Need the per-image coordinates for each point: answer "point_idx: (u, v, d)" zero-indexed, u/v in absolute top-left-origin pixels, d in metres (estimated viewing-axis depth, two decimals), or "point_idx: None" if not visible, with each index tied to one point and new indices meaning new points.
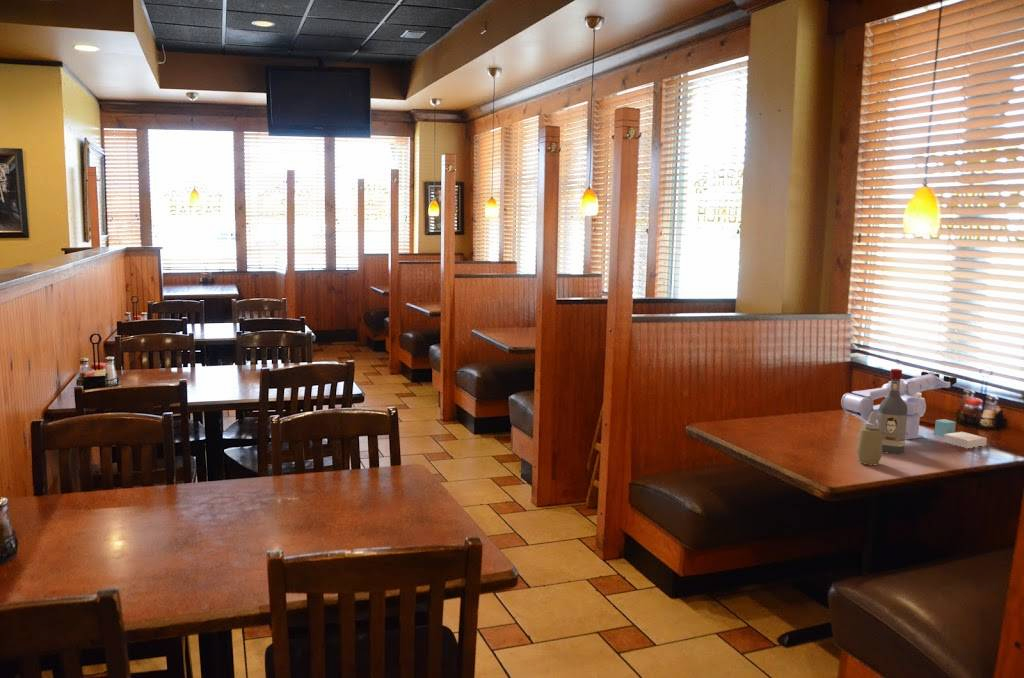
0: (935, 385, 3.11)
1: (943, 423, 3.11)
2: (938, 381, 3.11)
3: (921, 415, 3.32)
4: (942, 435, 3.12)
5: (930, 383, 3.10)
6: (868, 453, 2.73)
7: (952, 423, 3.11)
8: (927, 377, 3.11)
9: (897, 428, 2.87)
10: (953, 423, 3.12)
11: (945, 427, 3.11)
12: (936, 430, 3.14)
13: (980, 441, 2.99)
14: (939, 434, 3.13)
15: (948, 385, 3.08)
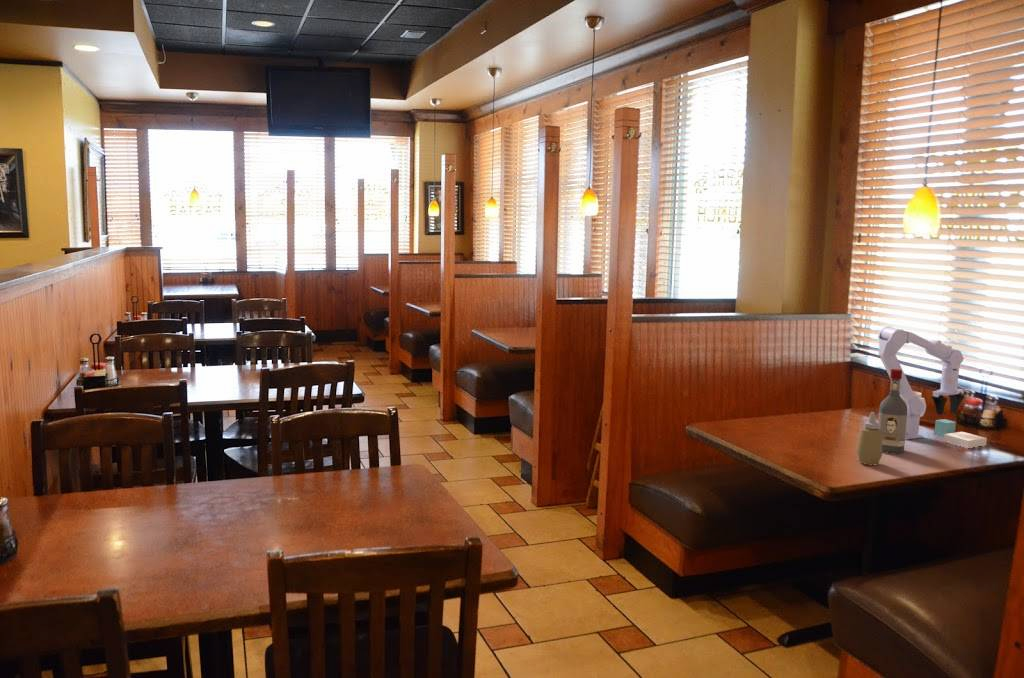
0: (941, 389, 3.11)
1: (943, 423, 3.11)
2: None
3: (921, 415, 3.32)
4: (942, 435, 3.12)
5: (945, 382, 3.09)
6: (868, 453, 2.73)
7: (952, 423, 3.11)
8: (952, 383, 3.08)
9: (897, 428, 2.87)
10: (953, 423, 3.12)
11: (945, 427, 3.11)
12: (936, 430, 3.14)
13: (980, 441, 2.99)
14: (939, 434, 3.13)
15: (934, 393, 3.09)
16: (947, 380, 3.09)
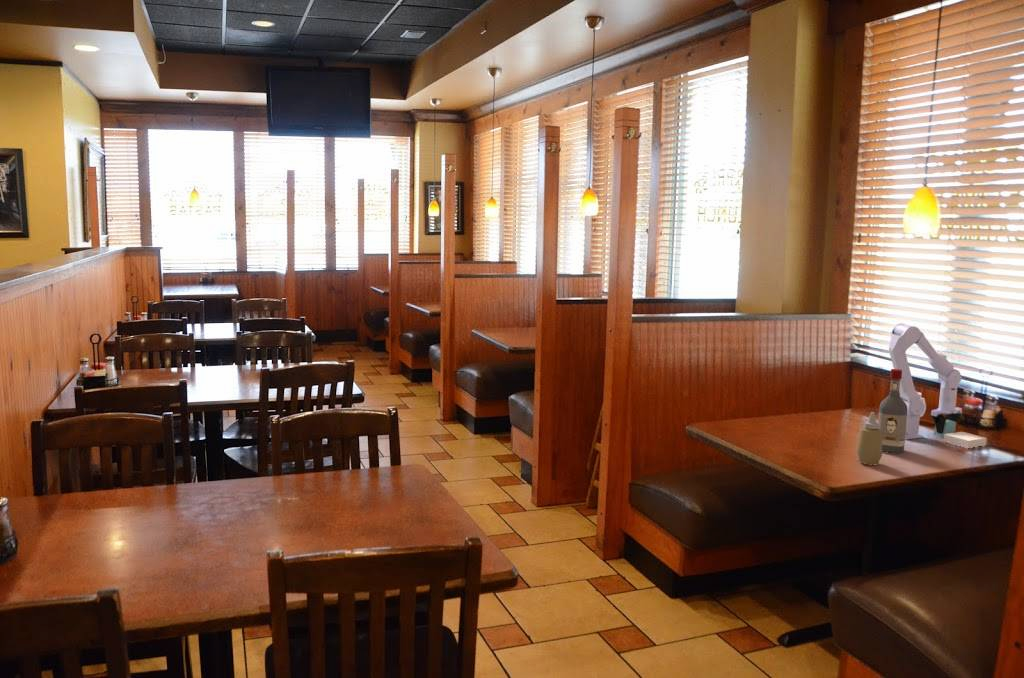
0: (940, 408, 3.12)
1: None
2: None
3: (921, 415, 3.32)
4: (942, 435, 3.12)
5: (943, 401, 3.11)
6: (868, 453, 2.73)
7: (952, 423, 3.11)
8: (950, 402, 3.09)
9: (897, 428, 2.87)
10: (953, 423, 3.12)
11: (945, 427, 3.11)
12: (936, 430, 3.14)
13: (980, 441, 2.99)
14: (939, 434, 3.13)
15: (933, 413, 3.10)
16: (945, 399, 3.10)
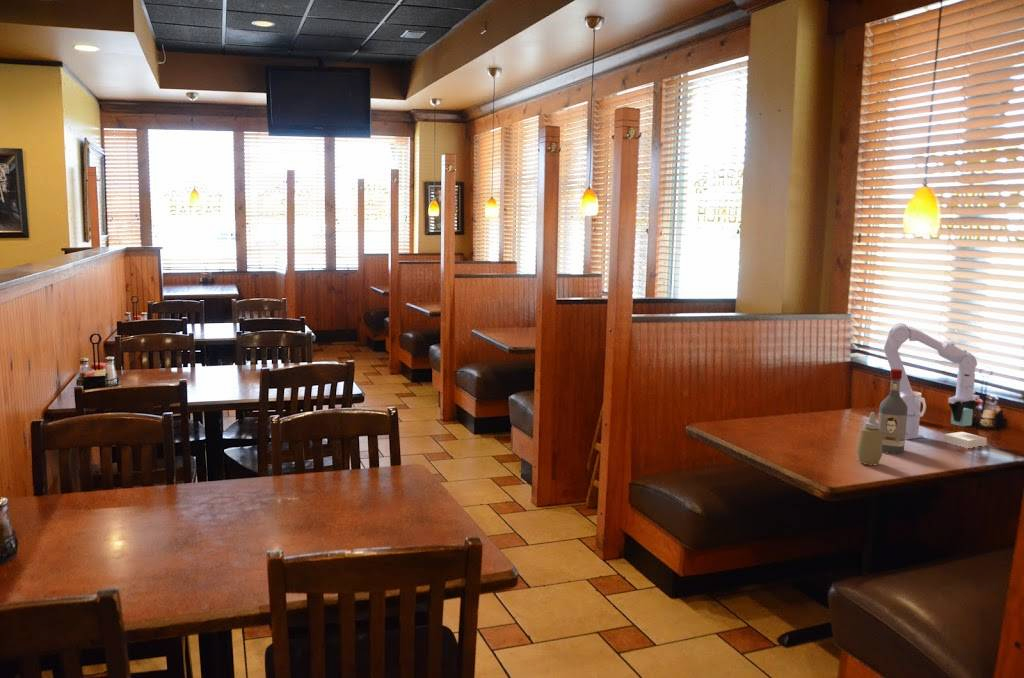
0: (957, 395, 3.03)
1: None
2: None
3: (921, 415, 3.32)
4: (959, 423, 3.03)
5: (960, 388, 3.01)
6: (868, 453, 2.73)
7: (969, 411, 3.02)
8: (968, 389, 3.00)
9: (897, 428, 2.87)
10: (970, 411, 3.02)
11: (962, 415, 3.01)
12: (952, 418, 3.05)
13: (980, 441, 2.99)
14: (956, 422, 3.04)
15: (950, 400, 3.00)
16: (963, 386, 3.00)
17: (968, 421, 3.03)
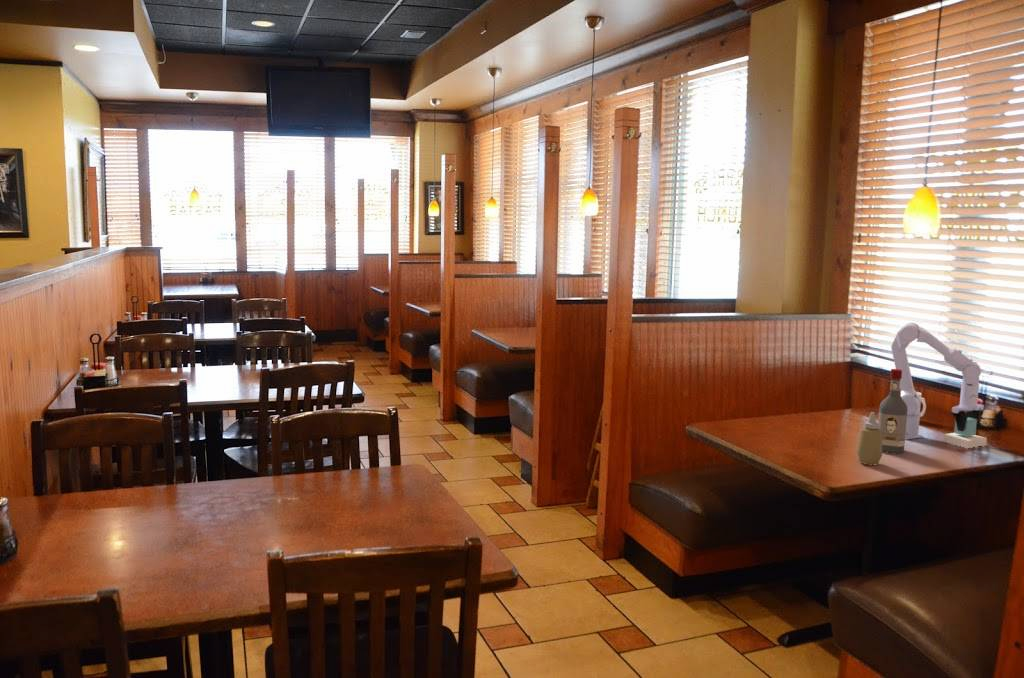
0: (961, 404, 3.00)
1: None
2: None
3: (921, 415, 3.32)
4: (963, 433, 3.01)
5: (964, 398, 2.99)
6: (868, 453, 2.73)
7: (973, 420, 3.00)
8: (972, 399, 2.98)
9: (897, 428, 2.87)
10: (974, 420, 3.00)
11: (965, 425, 2.99)
12: (956, 428, 3.03)
13: (980, 441, 2.99)
14: (959, 432, 3.02)
15: (953, 409, 2.98)
16: (967, 396, 2.98)
17: (972, 431, 3.00)
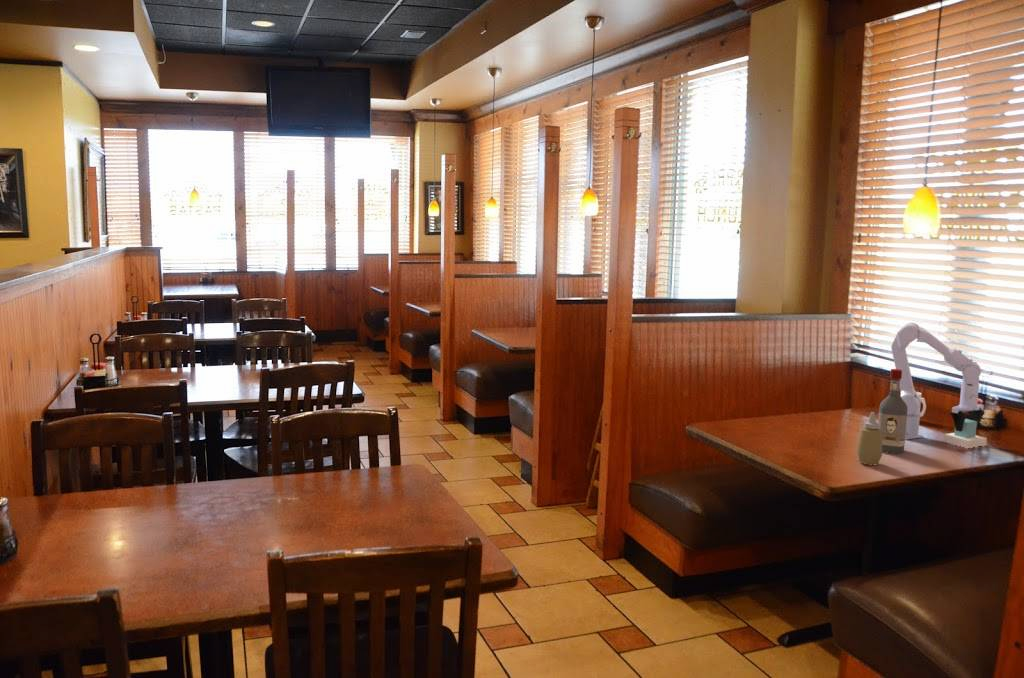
0: (961, 404, 3.00)
1: (964, 422, 3.00)
2: None
3: (921, 415, 3.32)
4: (963, 435, 3.01)
5: (964, 398, 2.99)
6: (868, 453, 2.73)
7: (973, 422, 3.00)
8: (972, 399, 2.98)
9: (897, 428, 2.87)
10: (974, 422, 3.00)
11: (966, 427, 2.99)
12: None
13: (980, 441, 2.99)
14: (959, 434, 3.02)
15: (953, 409, 2.98)
16: (967, 396, 2.98)
17: (972, 433, 3.00)
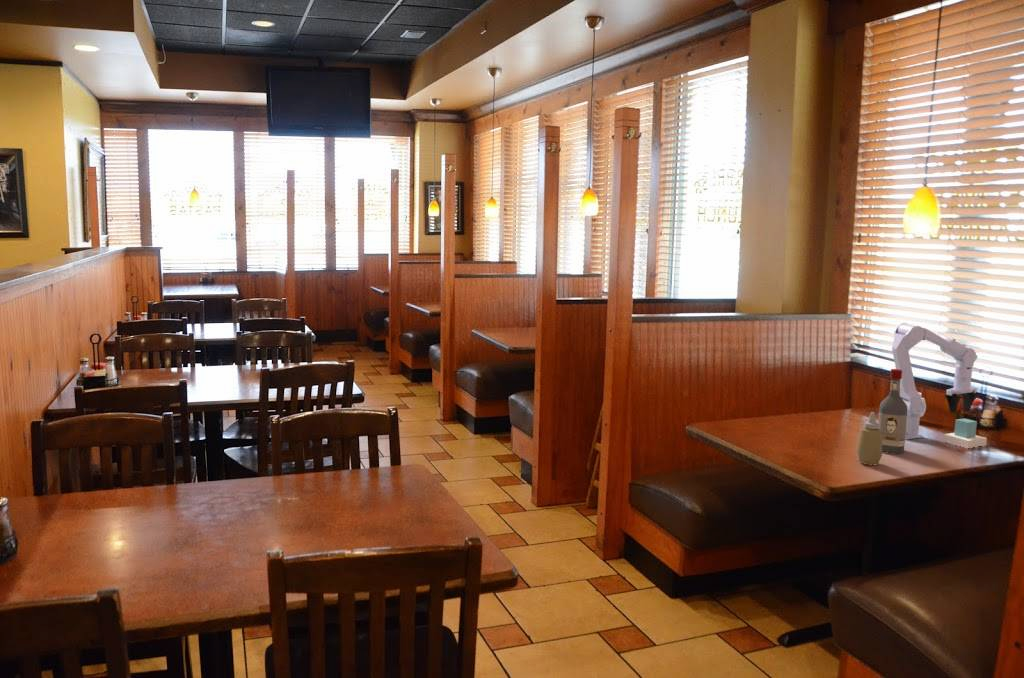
0: (955, 387, 3.12)
1: (964, 422, 3.00)
2: None
3: (921, 415, 3.32)
4: (963, 435, 3.01)
5: (958, 380, 3.11)
6: (868, 453, 2.73)
7: (973, 422, 3.00)
8: (965, 381, 3.10)
9: (897, 428, 2.87)
10: (974, 422, 3.00)
11: (966, 427, 2.99)
12: (956, 430, 3.03)
13: (980, 441, 2.99)
14: (959, 434, 3.02)
15: (948, 392, 3.10)
16: (960, 378, 3.10)
17: (972, 433, 3.00)
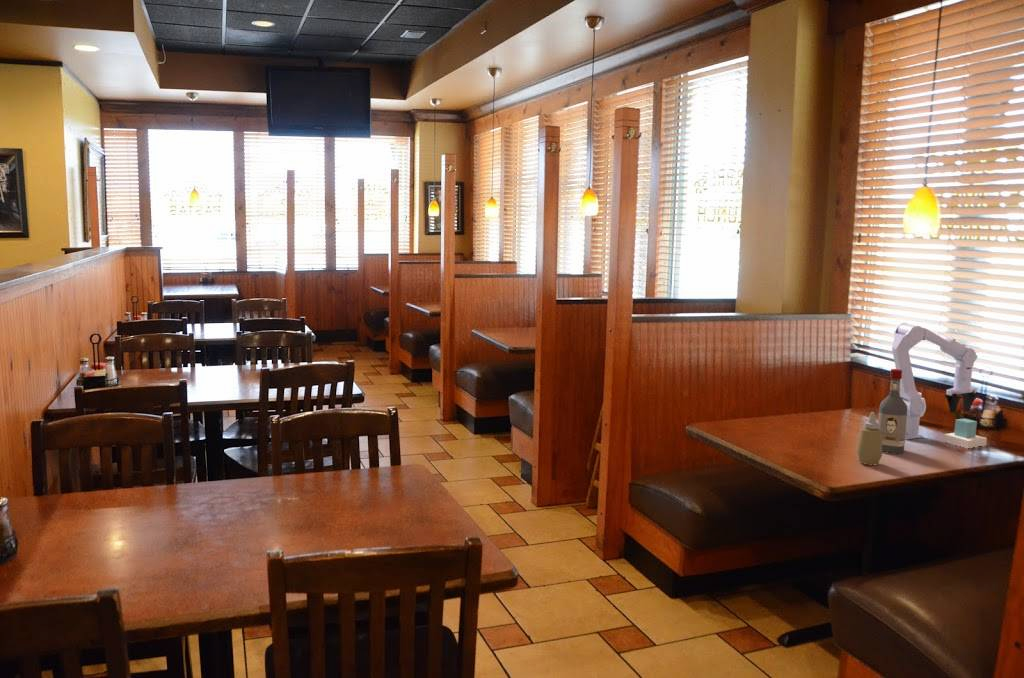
0: (955, 387, 3.12)
1: (964, 422, 3.00)
2: None
3: (921, 415, 3.32)
4: (963, 435, 3.01)
5: (958, 380, 3.11)
6: (868, 453, 2.73)
7: (973, 422, 3.00)
8: (965, 381, 3.10)
9: (897, 428, 2.87)
10: (974, 422, 3.00)
11: (966, 427, 2.99)
12: (956, 430, 3.03)
13: (980, 441, 2.99)
14: (959, 434, 3.02)
15: (948, 392, 3.10)
16: (960, 378, 3.10)
17: (972, 433, 3.00)
